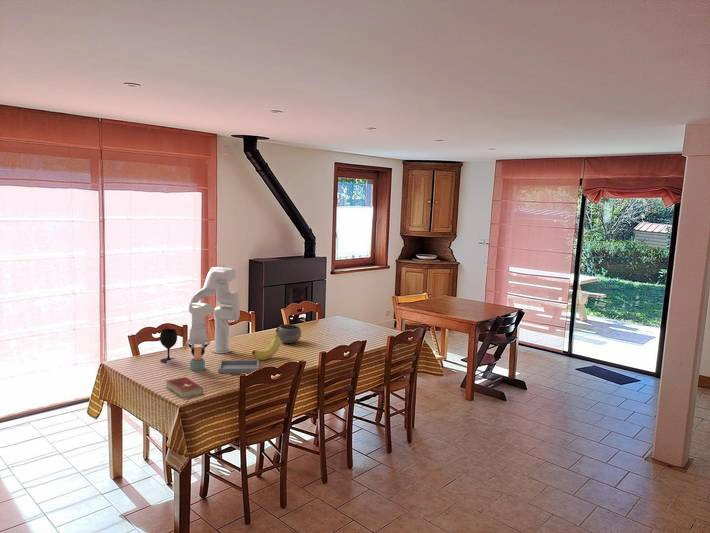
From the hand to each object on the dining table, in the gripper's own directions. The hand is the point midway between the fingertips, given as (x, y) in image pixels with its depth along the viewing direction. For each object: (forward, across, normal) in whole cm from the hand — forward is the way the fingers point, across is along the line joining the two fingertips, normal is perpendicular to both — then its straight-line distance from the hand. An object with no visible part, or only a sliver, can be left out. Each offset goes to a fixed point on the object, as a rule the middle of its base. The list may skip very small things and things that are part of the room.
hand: (197, 354), depth 328 cm
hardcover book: (+10, +4, +35) cm, 37 cm away
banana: (+11, -42, -22) cm, 49 cm away
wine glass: (+10, +20, -19) cm, 30 cm away
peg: (+6, 0, 0) cm, 6 cm away
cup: (+10, 0, 0) cm, 10 cm away
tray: (+10, -25, 0) cm, 27 cm away
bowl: (+11, -60, -63) cm, 88 cm away
